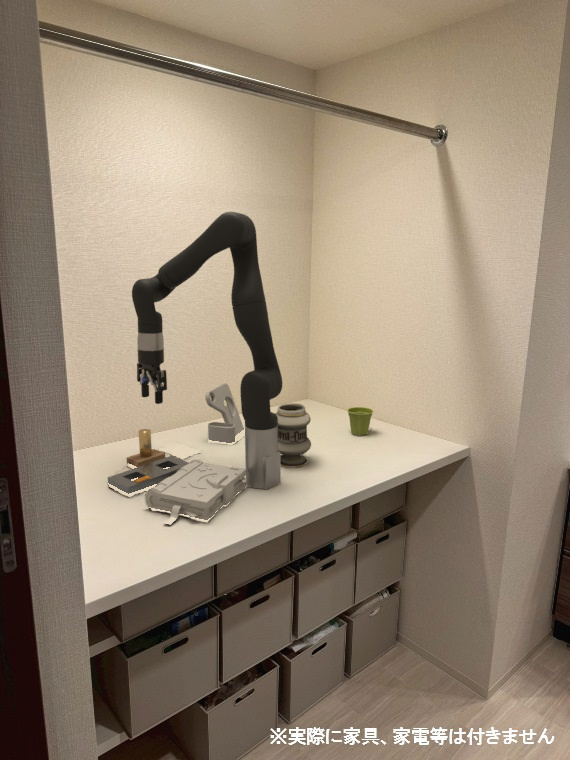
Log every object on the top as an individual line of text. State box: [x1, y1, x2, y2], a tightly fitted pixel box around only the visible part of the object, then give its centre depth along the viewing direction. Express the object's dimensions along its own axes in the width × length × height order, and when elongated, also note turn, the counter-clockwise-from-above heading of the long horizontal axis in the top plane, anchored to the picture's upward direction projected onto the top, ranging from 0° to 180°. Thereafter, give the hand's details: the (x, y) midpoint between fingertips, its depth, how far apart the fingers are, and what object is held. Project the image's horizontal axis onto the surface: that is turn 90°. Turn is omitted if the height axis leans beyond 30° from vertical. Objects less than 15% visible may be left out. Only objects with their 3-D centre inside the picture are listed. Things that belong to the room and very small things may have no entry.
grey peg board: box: [107, 455, 190, 494], centre depth 158 cm, size 10×22×3 cm, turn 139°
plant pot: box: [346, 406, 374, 436], centre depth 198 cm, size 9×9×9 cm
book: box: [144, 458, 248, 520], centre depth 144 cm, size 19×28×8 cm
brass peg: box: [138, 428, 153, 458], centre depth 168 cm, size 4×4×8 cm
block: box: [126, 448, 166, 467], centre depth 169 cm, size 6×10×3 cm, turn 139°
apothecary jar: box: [274, 402, 312, 468], centre depth 171 cm, size 12×12×18 cm
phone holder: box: [204, 383, 245, 443], centre depth 194 cm, size 17×10×18 cm, turn 162°
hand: (152, 400), depth 165 cm, fingers open, 8 cm apart
